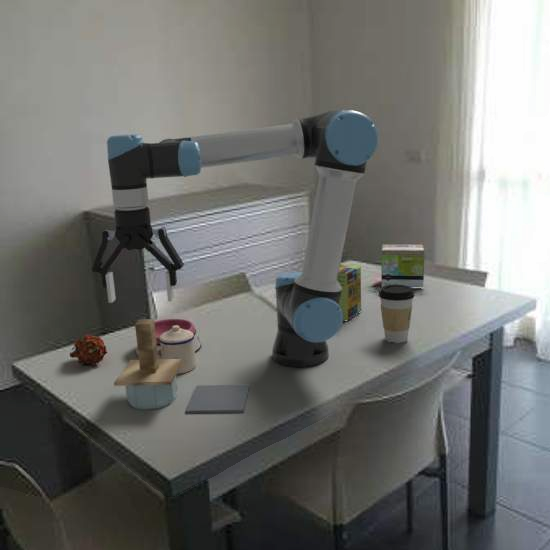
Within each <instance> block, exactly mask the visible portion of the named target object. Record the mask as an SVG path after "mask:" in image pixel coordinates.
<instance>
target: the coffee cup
mask: <svg viewBox="0 0 550 550" xmlns="http://www.w3.org/2000/svg"><path fill="white" fill-rule="evenodd" d="M378 297H379V298H380V310H381V319H382V328H383V329H384V339H386V340H387V341H386V340H385V341H386V342H388V341H389V342H388V343H390V342H394V343H393V344H401V343H400V342H403V343H406V342H407V341H408V339H409V329H410V325H411V319H412V311H413V310H412V309H413V298H414V297H415V292H414V291H413V289H412V288H411V287H409V286H406V285H387V286H383V287H382V286H381V288H380V291H379V292H378ZM405 341H406V342H405Z"/></svg>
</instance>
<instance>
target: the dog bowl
mask: <svg viewBox="0 0 550 550" xmlns="http://www.w3.org/2000/svg"><path fill="white" fill-rule="evenodd" d="M154 324H155V333H156V343H157V347H160V346H161V344H160V341H159V338H160V336H161V335H162V334H163V333H165V332H168V331H169V330H171V329H172V327H173V326H175V325H178V326H179V327H180V328H181V329H184V330H189V331H191V332H192V333H193V334H194V350H195V354H196V353H197V354H198V352H199V351H200V350H201V348H202V344H201V343H202V342H201V340H200V338H199V335H198V332H197V328H196V327H195V324H194V323H193V322H192V321H191V320H188V319H183V318H165V319H160V320H154ZM135 354H136V356H137V357H138V358H139V356H138V347H137V346H136V351H135ZM158 359H162V354H161V350H160V351H158Z"/></svg>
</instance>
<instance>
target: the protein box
mask: <svg viewBox="0 0 550 550" xmlns="http://www.w3.org/2000/svg"><path fill="white" fill-rule="evenodd" d="M361 268H362V267H361V265H351V264H341V263H340V268H339V273H338V279H337V280H338V283H339V284H340V285H341V287H342V292H341V297H340V302H339V306H340V307H341V310H342V314H343V320H347V321H348V320H349V319H351V318H352V317H354V316H355V315H356V314H358V313H359V312H360V311H361V312H362V279H361V278H362V273H361V272H362V269H361ZM359 314H360V313H359ZM359 314H358V315H359ZM356 316H357V315H356ZM356 316H355V317H356ZM355 317H354V318H355ZM352 319H353V318H352ZM352 319H351V320H352ZM349 321H350V320H349ZM349 321H348V322H349Z"/></svg>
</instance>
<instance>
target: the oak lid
mask: <svg viewBox="0 0 550 550" xmlns="http://www.w3.org/2000/svg"><path fill="white" fill-rule="evenodd" d="M154 321H155V319H154V318H145V319H144V318H143V319H142V318H141V319H140V318H139V319H138V320H137V322H136V323H135V324H134V326H135V327H134V328H135V336H136V348H137V347H138V356H139V357H138V356H137V357H138V359H130V360H129V361H128V363H127V364H126V365H125V367H124V368H123V369H122V371H121V372H120V374H119V375H118V376H117V378H116V379H115V381H114V382H113V384H114V387H125V386H137V385H172V383H173V381H174V379H175V377H176V378H177V375H178V374H177V373H178V371H179V369H180V367H181V365H182V363H183V359H158V352H157V343H156V333H155V324H154Z"/></svg>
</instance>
